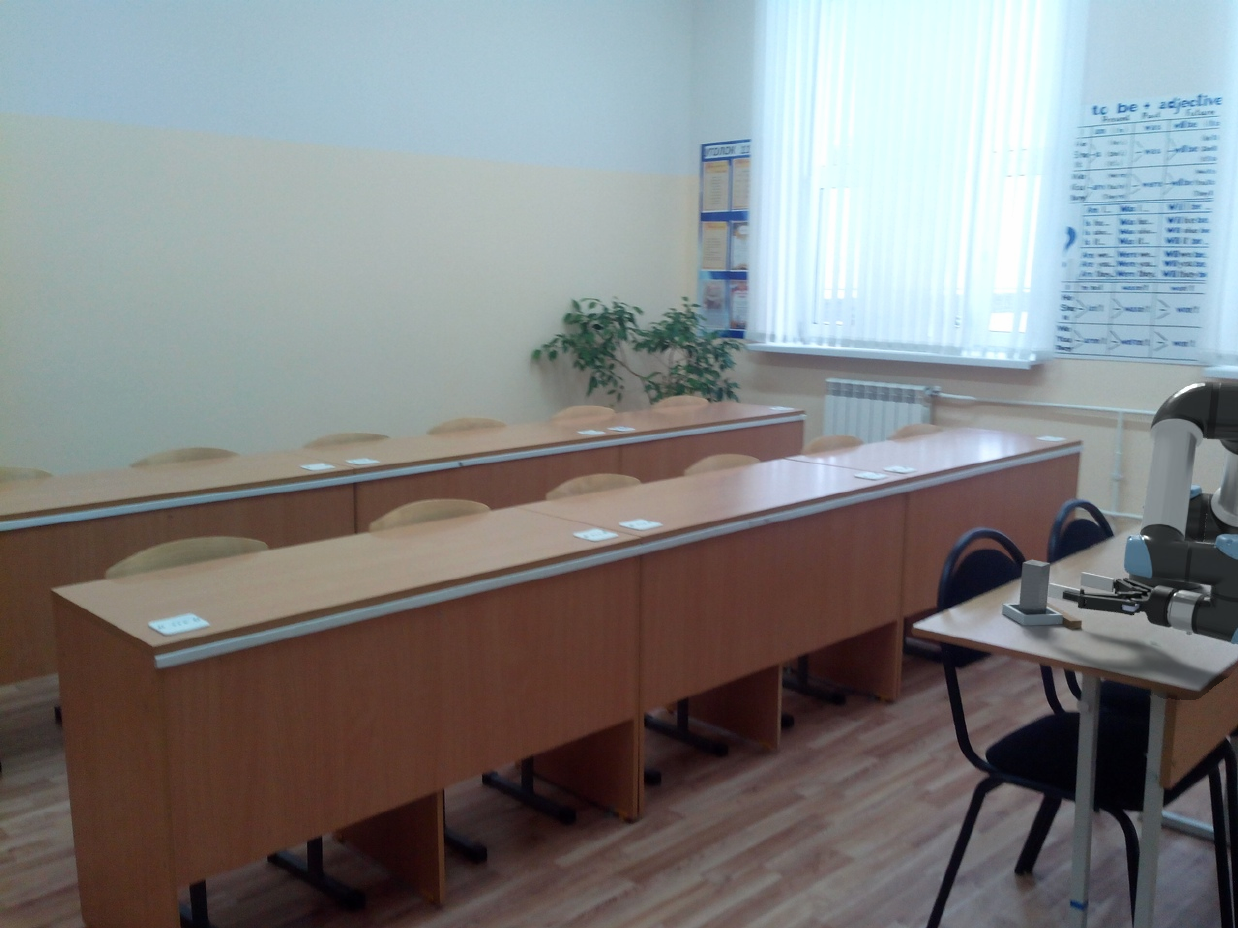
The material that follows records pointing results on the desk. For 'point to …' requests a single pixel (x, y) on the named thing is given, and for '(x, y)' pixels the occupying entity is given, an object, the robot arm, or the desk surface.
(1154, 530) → the robot arm
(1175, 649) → the desk surface
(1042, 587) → the bar
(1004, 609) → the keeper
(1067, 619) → the sill strip
